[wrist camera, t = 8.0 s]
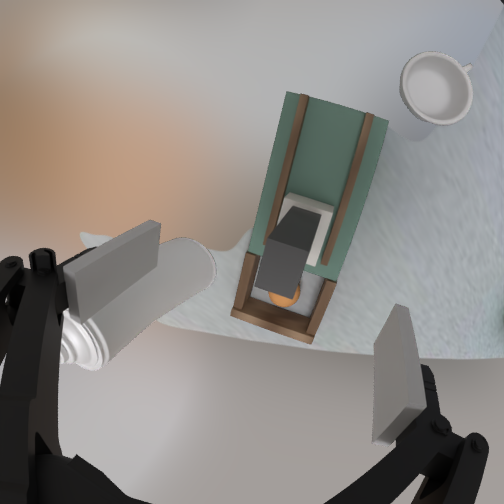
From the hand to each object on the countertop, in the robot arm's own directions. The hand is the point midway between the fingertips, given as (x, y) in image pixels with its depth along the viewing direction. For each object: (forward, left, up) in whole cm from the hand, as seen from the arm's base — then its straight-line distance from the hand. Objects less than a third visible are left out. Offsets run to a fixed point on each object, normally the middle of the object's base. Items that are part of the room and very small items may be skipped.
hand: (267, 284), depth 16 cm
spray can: (+16, +15, -23) cm, 31 cm away
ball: (0, +12, -20) cm, 24 cm away
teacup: (-10, -17, -23) cm, 30 cm away
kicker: (0, +3, -19) cm, 19 cm away
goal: (0, +12, -22) cm, 25 cm away
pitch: (0, -1, -22) cm, 22 cm away
